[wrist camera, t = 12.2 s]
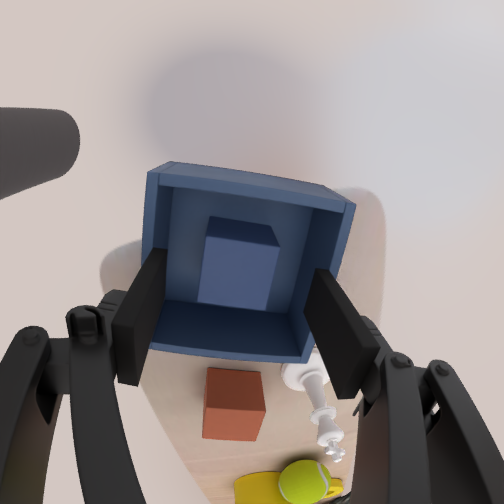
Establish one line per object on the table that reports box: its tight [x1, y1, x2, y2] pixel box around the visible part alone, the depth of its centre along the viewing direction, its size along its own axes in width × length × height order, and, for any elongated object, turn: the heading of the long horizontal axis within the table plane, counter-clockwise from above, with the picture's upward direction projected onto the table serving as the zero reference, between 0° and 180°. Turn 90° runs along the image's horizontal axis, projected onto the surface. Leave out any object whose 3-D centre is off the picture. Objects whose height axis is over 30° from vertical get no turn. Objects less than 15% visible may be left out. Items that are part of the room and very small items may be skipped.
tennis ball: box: [278, 460, 331, 504], centre depth 29 cm, size 7×7×7 cm
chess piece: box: [281, 348, 346, 462], centre depth 21 cm, size 5×5×10 cm
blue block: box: [197, 216, 281, 311], centre depth 18 cm, size 4×4×4 cm
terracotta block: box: [202, 368, 266, 441], centre depth 24 cm, size 5×5×5 cm
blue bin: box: [141, 161, 356, 364], centre depth 18 cm, size 10×10×6 cm
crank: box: [234, 472, 343, 504], centre depth 33 cm, size 18×8×6 cm, turn 66°
